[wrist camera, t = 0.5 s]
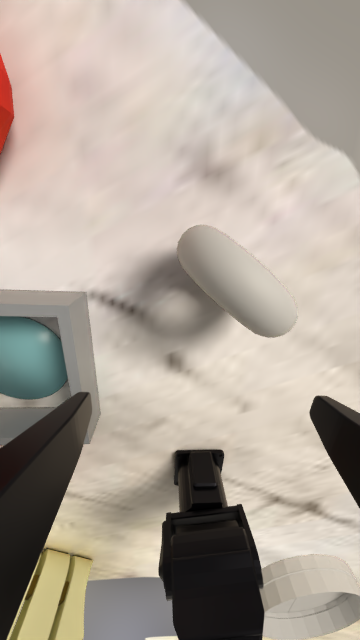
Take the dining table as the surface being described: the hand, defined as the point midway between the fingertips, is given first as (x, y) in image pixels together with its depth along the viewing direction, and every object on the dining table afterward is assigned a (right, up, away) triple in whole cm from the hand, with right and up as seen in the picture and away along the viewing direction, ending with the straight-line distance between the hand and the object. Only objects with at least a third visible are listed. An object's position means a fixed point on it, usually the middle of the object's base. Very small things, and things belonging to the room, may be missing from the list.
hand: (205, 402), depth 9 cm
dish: (+24, -52, +38) cm, 68 cm away
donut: (+3, +8, +12) cm, 15 cm away
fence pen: (-18, -1, +14) cm, 23 cm away
